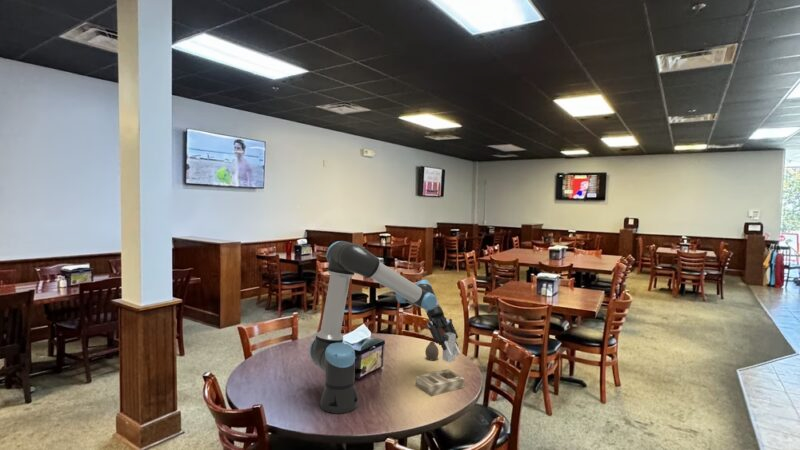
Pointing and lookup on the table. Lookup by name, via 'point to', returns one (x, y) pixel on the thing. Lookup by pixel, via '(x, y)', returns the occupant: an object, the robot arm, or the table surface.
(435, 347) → the dark grey egg
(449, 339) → the grey rectangular block
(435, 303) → the robot arm
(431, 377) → the holder
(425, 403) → the table surface
